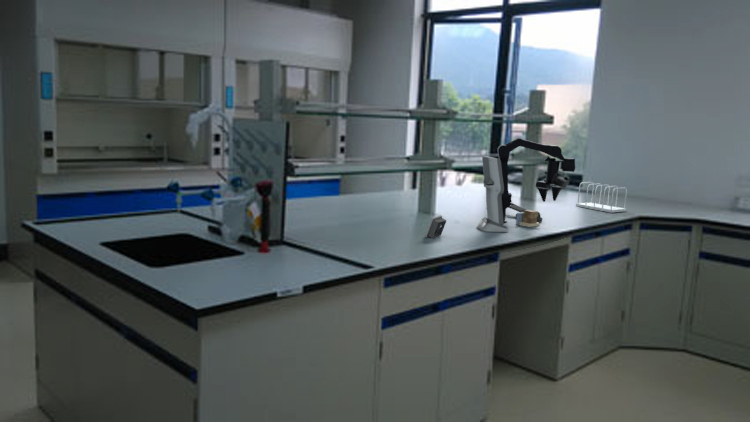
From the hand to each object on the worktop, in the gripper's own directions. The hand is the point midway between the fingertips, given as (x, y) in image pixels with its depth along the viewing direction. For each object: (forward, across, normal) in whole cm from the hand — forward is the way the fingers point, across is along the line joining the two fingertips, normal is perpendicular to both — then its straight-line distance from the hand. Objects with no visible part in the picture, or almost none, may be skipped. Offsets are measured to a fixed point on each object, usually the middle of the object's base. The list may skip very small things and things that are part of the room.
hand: (549, 201), depth 304 cm
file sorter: (+13, +89, +20) cm, 92 cm away
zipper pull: (+13, +6, +20) cm, 25 cm away
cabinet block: (+12, -7, +5) cm, 15 cm away
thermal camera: (+13, -36, +6) cm, 39 cm away
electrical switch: (+13, -74, +7) cm, 76 cm away
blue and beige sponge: (+13, -7, +6) cm, 16 cm away
